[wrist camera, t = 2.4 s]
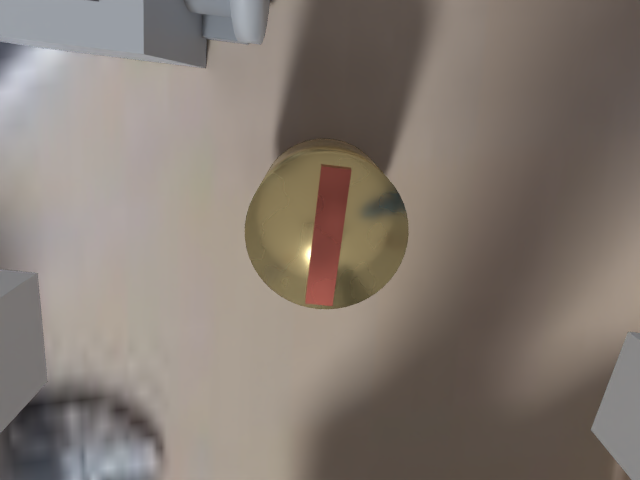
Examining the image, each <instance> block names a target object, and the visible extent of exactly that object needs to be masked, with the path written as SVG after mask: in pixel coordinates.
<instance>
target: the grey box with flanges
mask: <svg viewBox="0 0 640 480" xmlns="http://www.w3.org/2000/svg"><path fill="white" fill-rule="evenodd" d="M269 5H270V0H0V41H1V42H7V43H13V44H19V45H25V46H31V47H38V48H46V49H54V50H63V51H71V52H79V53H87V54H95V55H103V56H111V57H119V58H127V59H135V60H143V61H151V62H159V63H167V64H175V65H183V66H191V67H199V68H206V49H207V39H210V40H218V41H225V42H233V43H241V44H249V43H253V44H262V42H263V39H264V36H265V32H266V27H267V21H268V14H269Z"/></svg>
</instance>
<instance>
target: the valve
mask: <svg viewBox="0 0 640 480" xmlns="http://www.w3.org/2000/svg"><path fill="white" fill-rule="evenodd" d="M245 241H246V248H247V251H248V255H249V258H250V260H251V262H252V265H253V267H254V268H255V270H256V272H257V273H258V275H259V276H260V277H261V279H262V280H263V281H264V283H266V284H267V285H268V286H269V287H270V288H271V289H272V290H273V291H274V292H276V293H277V294H278V295H280V296H281V297H283V298H285V299H287V300H288V301H291V302H293V303H295V304H298V305H301V306H305V307H309V308H316V309H336V308H342V307H347V306H350V305H353V304H357V303H359V302H361V301H363V300H365V299H367V298H369V297H370V296H372V295H374V294H375V293H376V292H378V291H379V290H380V289H381V288H383V287H384V286H385V285H386V284H387V283H388V282H389V280H390V279H391V278H392V277H393V275H394V274H395V273H396V271H397V269H398V267H399V266H400V264H401V262H402V259H403V257H404V254H405V251H406V247H407V242H408V219H407V213H406V210H405V207H404V203H403V201H402V199H401V197H400V195H399V193H398V192H397V190H396V188H395V187H394V185H393V184H392V183H391V182H390V181H389V179H388V178H387V177H386V176H385V175H384V174H383V173H382V171H381V170H380V169H379V168H378V167H377V166H376V165H375V164H374V162H373V161H372V160H371V159H370V158H369V157H368V156H367V155H366V154H365V153H364V152H362V151H361V150H359V149H358V148H356V147H355V146H353V145H351V144H349V143H346V142H343V141H340V140H334V139H313V140H308V141H305V142H302V143H299V144H297V145H295V146H293V147H291V148H289V149H288V150H287V151H285V152H284V153H283V154H282V155H280V156H279V157H278V158H277V159H276V161H275V162H274V163H273V164H272V166H271V167H270V169H269V170H268V172H267V174H266V176H265V177H264V179H263V181H262V183H261V184H260V186H259V188H258V190H257V191H256V193H255V195H254V197H253V199H252V201H251V203H250V206H249V209H248V212H247V216H246V223H245Z"/></svg>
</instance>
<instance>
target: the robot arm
mask: <svg viewBox="0 0 640 480" xmlns="http://www.w3.org/2000/svg"><path fill="white" fill-rule="evenodd" d="M47 382H48V381H47V370H46V359H45V348H44V337H43V326H42V316H41V305H40V294H39V283H38V273H32V272H22V271H12V270H2V269H0V433H1V432H2V431H3V430H4V429H5V428H6V427H7V426H8V424H9V423H10V422H11V421H12V420H13V419H14V418H15V417H16V416H17V415H18V413H19V412H20V411H21V410H22V409H23V408H24V407H25V406H26V405H27V404H28V403H29V401H30V400H31V399H32V398H33V397H34V396H35V395H36V394H37V393H38V392H39V391H40V389H41V388H42V387H43V386H44V385H45V384H46V383H47ZM591 431H592V432H593V433H594V434H595V436H596V437H597V438H598V439H599V440H600V442H601V443H602V444H603V445H604V447H605V448H606V449H607V450H608V452H609V453H610V454H611V455H612V456H613V458H614V459H615V460H616V461H617V463H618V464H619V465H620V466H621V468H622V469H623V470H624V471H625V472H626V474H627V475H628V476H629V477H630V479H631V480H640V333H634V332H628V333H627V336H626V339H625V341H624V344H623V346H622V349H621V352H620V354H619V357H618V360H617V362H616V365H615V367H614V370H613V373H612V375H611V378H610V381H609V383H608V386H607V388H606V391H605V394H604V396H603V399H602V402H601V404H600V407H599V410H598V412H597V415H596V417H595V420H594V423H593V425H592V428H591Z"/></svg>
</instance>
